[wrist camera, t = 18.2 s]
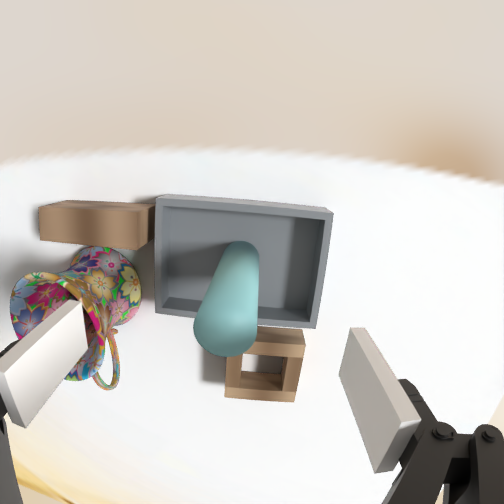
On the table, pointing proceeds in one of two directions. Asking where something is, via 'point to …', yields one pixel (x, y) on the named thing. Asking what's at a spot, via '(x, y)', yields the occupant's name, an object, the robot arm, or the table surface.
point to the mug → (93, 304)
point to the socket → (268, 384)
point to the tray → (250, 230)
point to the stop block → (98, 223)
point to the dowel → (230, 303)
